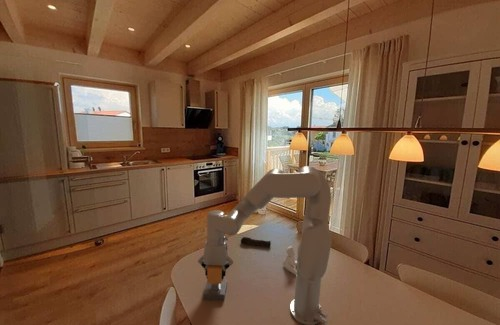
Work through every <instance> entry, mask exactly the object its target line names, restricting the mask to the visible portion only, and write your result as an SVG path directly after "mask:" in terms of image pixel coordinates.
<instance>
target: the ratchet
mask: <svg viewBox="0 0 500 325" xmlns="http://www.w3.org/2000/svg"><path fill="white" fill-rule="evenodd" d="M227 288H228V279H226V278H225V279H224V278H223V279H222V283H221V284H214V283H207V282H206V283H205V288H204V291H203V294H202V295H203V301H218V302H219V301H222V302H223V301H225V299H226V294H227V293H226V292H227Z"/></svg>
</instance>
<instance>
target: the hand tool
mask: <svg viewBox="0 0 500 325" xmlns="http://www.w3.org/2000/svg"><path fill="white" fill-rule="evenodd" d="M271 242H272V241H271V240H263V239H254V238H251V237H247V236H243V237H242V238H241V239H240V244H242V245H244V246H245V245H246V246H257V247H264V248H268V249H271V245H272V244H271Z"/></svg>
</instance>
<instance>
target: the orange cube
mask: <svg viewBox="0 0 500 325" xmlns="http://www.w3.org/2000/svg"><path fill="white" fill-rule="evenodd" d="M207 283H214V284H221V283H222V267H221V266H220V265H209V266H208V268H207V275H206V284H207Z"/></svg>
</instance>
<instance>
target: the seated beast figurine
mask: <svg viewBox="0 0 500 325" xmlns="http://www.w3.org/2000/svg"><path fill="white" fill-rule="evenodd" d="M285 252H286V254H287V255H286V256H285V258H284V260H283V261H282V265H283V268H284V269H285V270H287V271H288V272H289V273H290V272H291V273H292V274H293V275H294V276H296V272H297V260H295V255H296V254H295V250H294V248H293V246H292V245H289V246H288V247H286V251H285Z"/></svg>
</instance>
